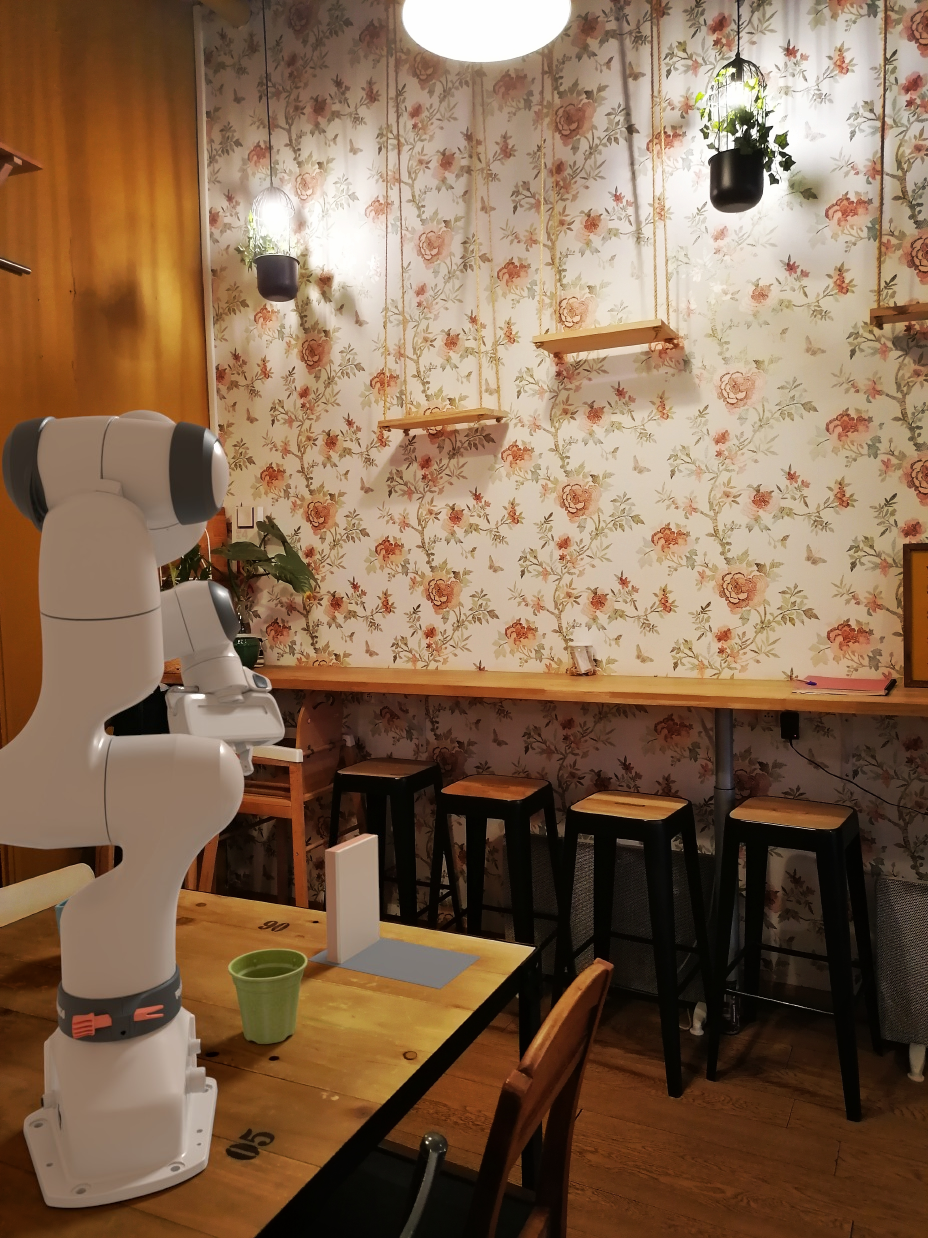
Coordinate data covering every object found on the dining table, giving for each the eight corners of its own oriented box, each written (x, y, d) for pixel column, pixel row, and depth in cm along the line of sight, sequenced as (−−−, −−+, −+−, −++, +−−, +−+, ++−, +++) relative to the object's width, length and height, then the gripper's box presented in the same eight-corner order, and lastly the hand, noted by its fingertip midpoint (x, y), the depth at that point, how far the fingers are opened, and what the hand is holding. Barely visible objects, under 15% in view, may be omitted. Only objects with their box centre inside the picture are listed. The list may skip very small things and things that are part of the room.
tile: (327, 961, 134) (324, 850, 133) (366, 937, 143) (364, 833, 142) (341, 963, 133) (338, 852, 132) (379, 939, 142) (377, 835, 141)
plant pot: (227, 1022, 116) (225, 953, 116) (303, 1011, 119) (301, 943, 119) (232, 1058, 107) (230, 984, 107) (314, 1045, 110) (312, 972, 110)
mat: (307, 962, 134) (307, 960, 134) (355, 934, 145) (355, 932, 145) (440, 992, 124) (440, 989, 124) (481, 959, 135) (481, 956, 135)
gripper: (178, 676, 128) (205, 771, 124) (276, 679, 146) (303, 762, 142) (147, 695, 130) (174, 788, 127) (248, 695, 148) (273, 778, 144)
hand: (243, 774), depth 134 cm, fingers closed
